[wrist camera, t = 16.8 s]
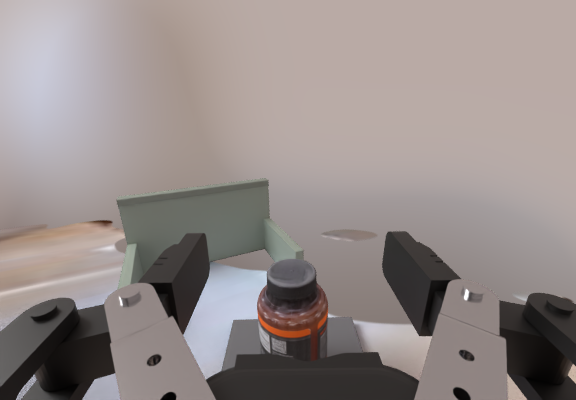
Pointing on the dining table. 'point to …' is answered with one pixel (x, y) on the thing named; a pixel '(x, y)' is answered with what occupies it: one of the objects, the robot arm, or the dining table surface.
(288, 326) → the supplement bottle
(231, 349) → the slate tile
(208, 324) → the dining table surface
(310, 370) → the robot arm
